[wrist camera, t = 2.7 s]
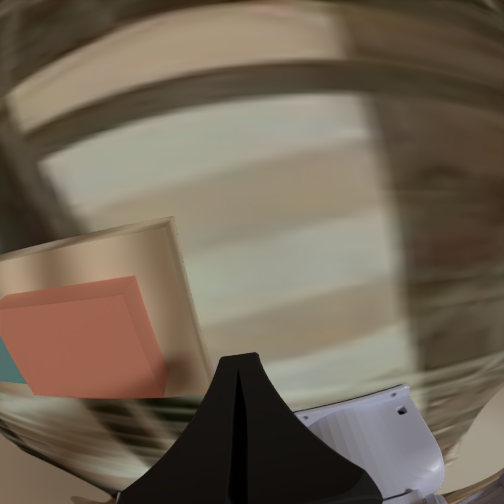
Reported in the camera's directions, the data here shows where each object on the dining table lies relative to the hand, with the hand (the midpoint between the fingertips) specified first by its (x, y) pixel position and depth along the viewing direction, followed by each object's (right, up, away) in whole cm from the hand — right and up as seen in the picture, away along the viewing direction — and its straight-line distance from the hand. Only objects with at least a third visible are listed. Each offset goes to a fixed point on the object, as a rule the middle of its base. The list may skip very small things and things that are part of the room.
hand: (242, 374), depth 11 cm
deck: (-9, +1, +6) cm, 11 cm away
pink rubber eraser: (-9, 0, +4) cm, 10 cm away
